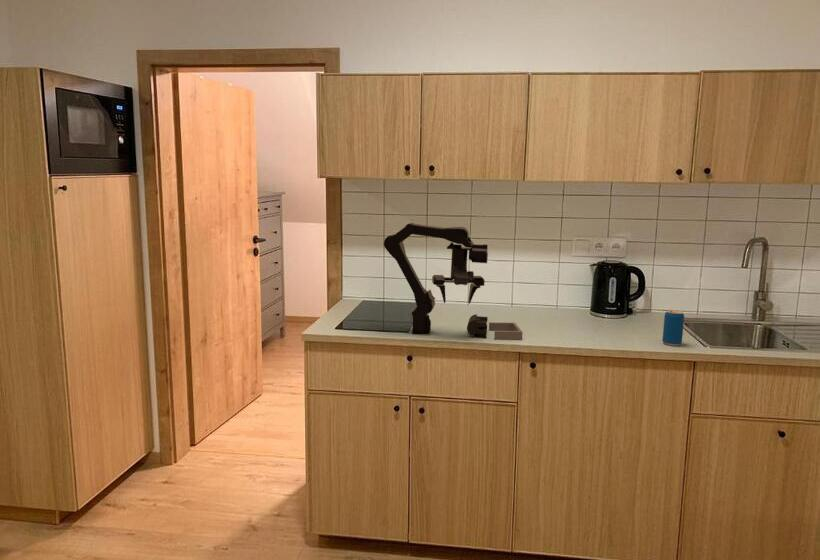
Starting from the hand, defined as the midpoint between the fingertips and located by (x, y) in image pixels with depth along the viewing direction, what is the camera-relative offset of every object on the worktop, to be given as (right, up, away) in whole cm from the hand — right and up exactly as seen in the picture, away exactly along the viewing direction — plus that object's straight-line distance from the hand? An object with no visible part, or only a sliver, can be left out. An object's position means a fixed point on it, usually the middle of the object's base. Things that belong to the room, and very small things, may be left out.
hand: (456, 303), depth 236 cm
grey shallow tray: (+18, -12, +2) cm, 21 cm away
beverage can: (+77, -15, -6) cm, 79 cm away
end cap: (+8, -12, +2) cm, 14 cm away
